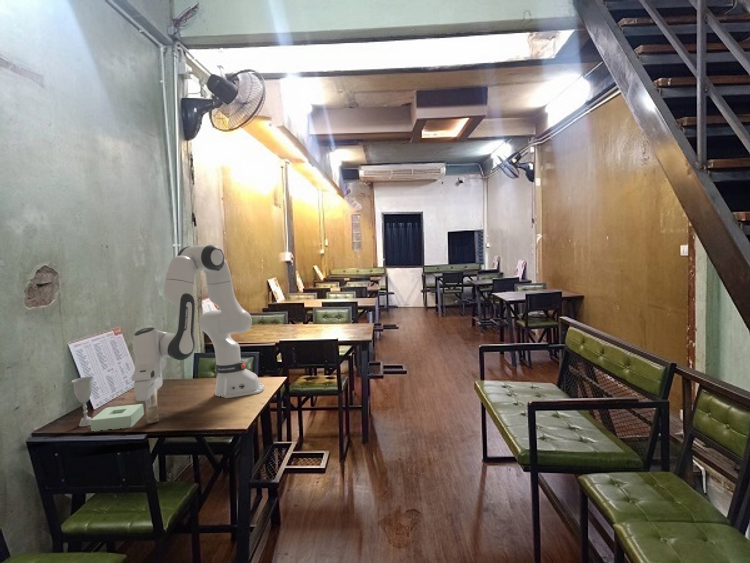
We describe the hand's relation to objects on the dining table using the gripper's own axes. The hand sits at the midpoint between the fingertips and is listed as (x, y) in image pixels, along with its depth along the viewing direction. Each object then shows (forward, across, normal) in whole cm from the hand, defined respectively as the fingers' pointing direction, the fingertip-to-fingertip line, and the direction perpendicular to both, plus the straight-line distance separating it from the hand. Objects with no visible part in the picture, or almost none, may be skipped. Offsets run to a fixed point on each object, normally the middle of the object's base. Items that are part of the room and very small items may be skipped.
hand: (151, 404), depth 168 cm
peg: (+7, 0, 0) cm, 7 cm away
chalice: (+7, -8, -27) cm, 29 cm away
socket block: (+7, -5, -14) cm, 17 cm away
